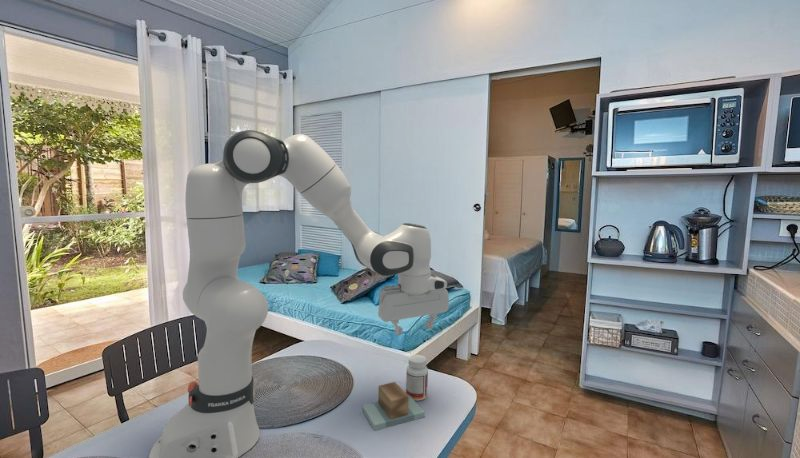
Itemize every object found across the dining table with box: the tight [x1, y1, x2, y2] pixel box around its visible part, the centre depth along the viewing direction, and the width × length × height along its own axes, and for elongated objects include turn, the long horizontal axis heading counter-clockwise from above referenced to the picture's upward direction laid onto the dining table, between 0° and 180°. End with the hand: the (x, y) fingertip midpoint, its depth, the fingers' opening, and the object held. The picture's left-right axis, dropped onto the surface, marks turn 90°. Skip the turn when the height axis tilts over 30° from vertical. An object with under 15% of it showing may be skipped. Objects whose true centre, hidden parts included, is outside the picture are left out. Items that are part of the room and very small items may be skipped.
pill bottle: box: [405, 354, 429, 402], centre depth 107 cm, size 6×6×11 cm
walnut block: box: [377, 381, 409, 419], centre depth 98 cm, size 5×8×5 cm, turn 27°
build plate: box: [362, 395, 425, 431], centre depth 99 cm, size 14×9×1 cm, turn 115°
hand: (414, 331), depth 103 cm, fingers open, 8 cm apart
